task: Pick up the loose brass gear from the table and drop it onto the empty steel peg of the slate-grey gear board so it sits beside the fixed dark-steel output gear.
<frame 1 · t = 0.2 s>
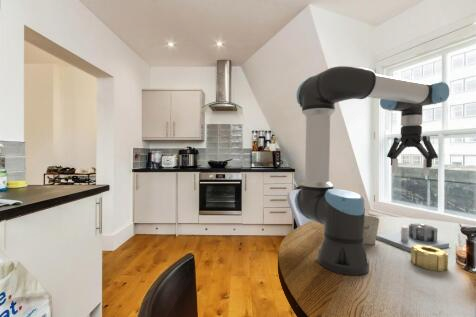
hand: (409, 174, 106), 28 cm above the table, fingers open, 13 cm apart
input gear: (428, 264, 78), on the table
mug: (361, 241, 98), on the table
output gear: (422, 241, 99), resting on gear board
gear board: (410, 242, 98), on the table
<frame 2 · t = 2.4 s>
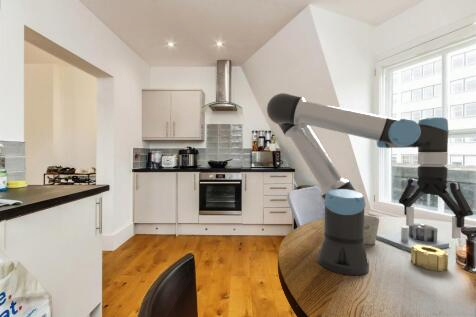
hand: (431, 231, 78), 11 cm above the table, fingers open, 13 cm apart
nothing on the table moved.
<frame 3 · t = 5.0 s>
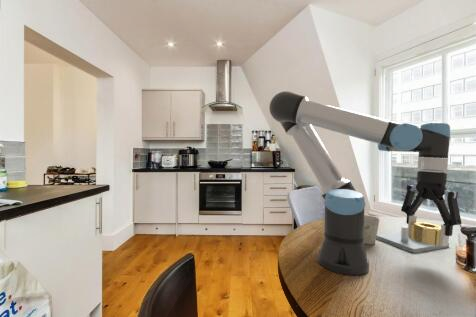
hand: (426, 239, 78), 8 cm above the table, fingers closed on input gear, 9 cm apart
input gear: (426, 240, 78), point 8 cm above the table, touching gripper
everything else where it was.
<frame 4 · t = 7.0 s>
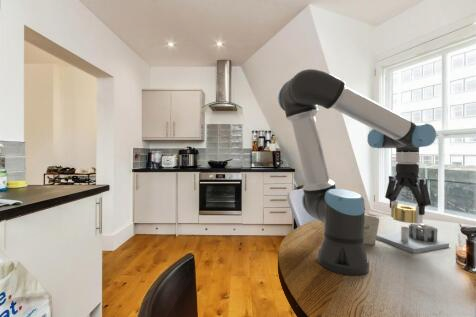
hand: (405, 219, 96), 10 cm above the table, fingers closed on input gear, 9 cm apart
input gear: (406, 220, 96), point 10 cm above the table, touching gripper
everything else where it was.
when the fingers open (2 cm above the table, at t = 9.0 s): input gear stays where it is, resting on gear board.
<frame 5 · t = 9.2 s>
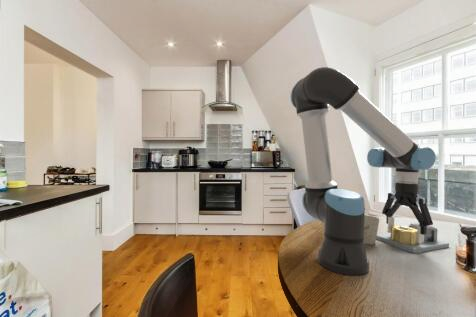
hand: (404, 237, 96), 3 cm above the table, fingers open, 11 cm apart
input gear: (404, 240, 96), point 1 cm above the table, touching gear board
everything else where it was.
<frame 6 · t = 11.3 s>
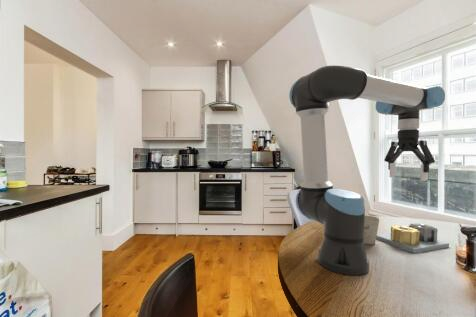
hand: (406, 178, 104), 26 cm above the table, fingers open, 13 cm apart
nothing on the table moved.
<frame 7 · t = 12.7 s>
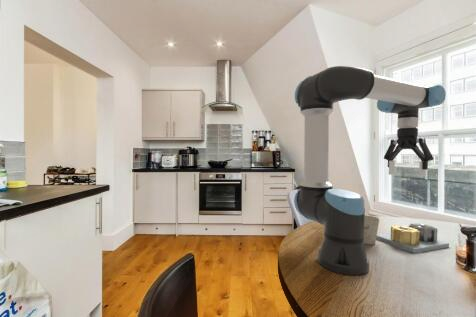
hand: (405, 175, 106), 27 cm above the table, fingers open, 13 cm apart
nothing on the table moved.
at the end: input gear 0.0 cm from the target spot, point 1.5 cm above the table; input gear tilted 0°; the gripper is holding nothing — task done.
